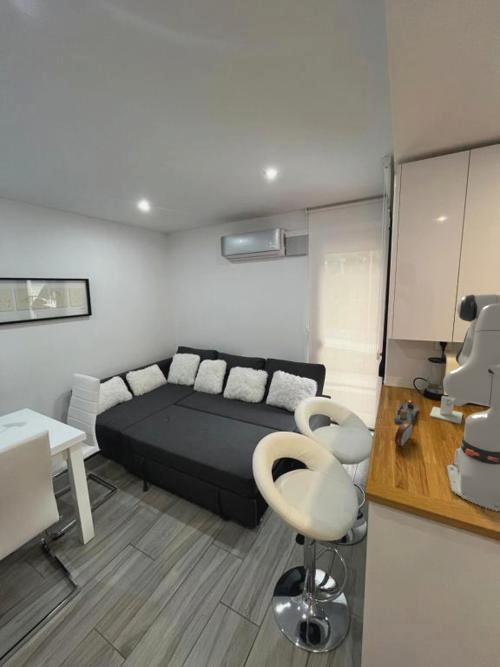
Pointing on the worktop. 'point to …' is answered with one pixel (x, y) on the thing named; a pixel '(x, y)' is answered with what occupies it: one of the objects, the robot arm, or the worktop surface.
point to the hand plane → (406, 412)
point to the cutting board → (455, 416)
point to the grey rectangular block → (444, 409)
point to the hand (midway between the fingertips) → (447, 402)
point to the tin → (403, 433)
